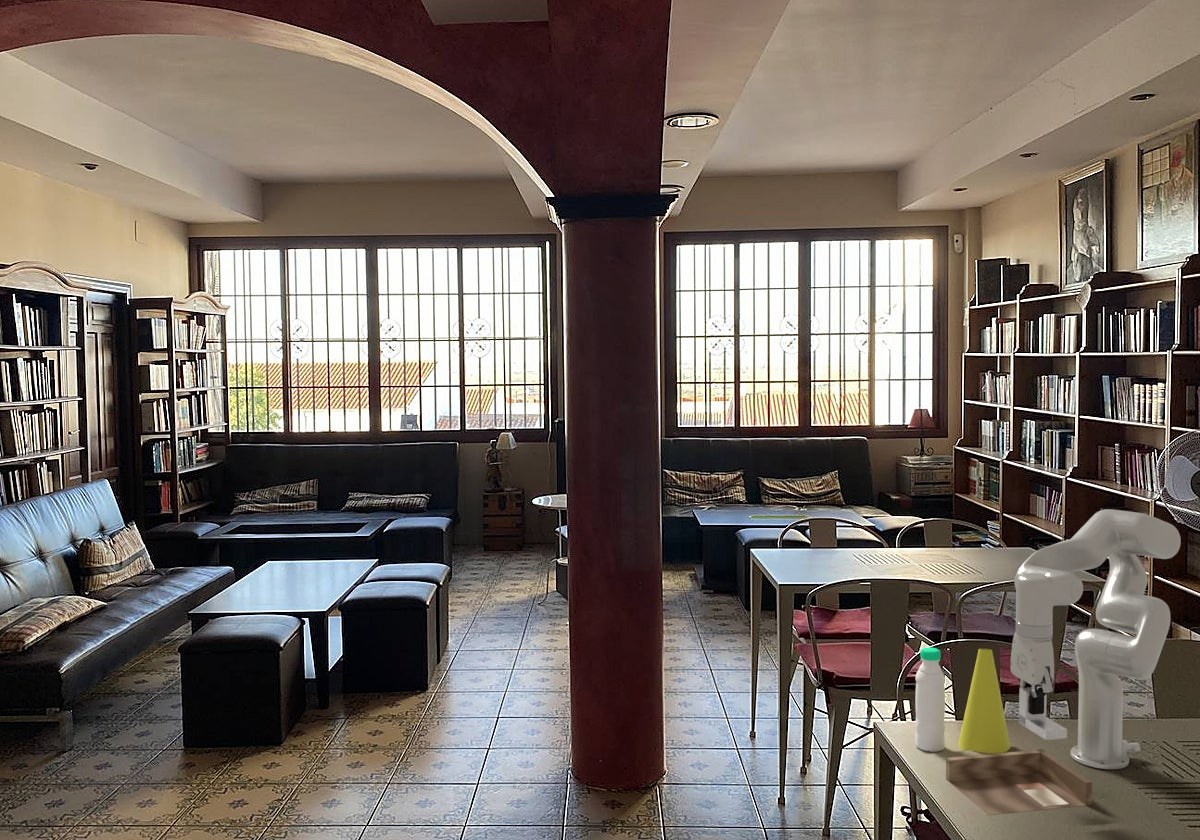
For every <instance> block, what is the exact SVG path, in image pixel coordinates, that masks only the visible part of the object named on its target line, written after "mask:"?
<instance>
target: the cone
mask: <svg viewBox="0 0 1200 840" xmlns="http://www.w3.org/2000/svg"><path fill="white" fill-rule="evenodd" d="M970 683H971V684H970V688H969V692H968V698H967V703H966V707H965V711H964V717H963V720H962V723H961V724H962V725H961V730H960V734H959V739H958V743H957V745H958V744H959V746H958V748H959V747H960V748H961V749H962V750H964V751H963V752H969V751H973V752H976V753H981V754H996V753H1007V752H1008V751H1009V750H1010V749H1011V744H1010V738H1009V732H1008V727H1007V722H1006V717H1005V712H1004V706H1003V701H1002V696H1001V695H1002V694H1001V690H1000V686H999V680H998V676H997V669H996V664H995V658H994V654H993V649H990V648H978V652H977V656H976V661H975V666H974V670H973V674H972V678H971V682H970ZM960 748H959V749H960ZM961 749H960V750H961ZM962 750H961V751H962Z"/></svg>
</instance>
